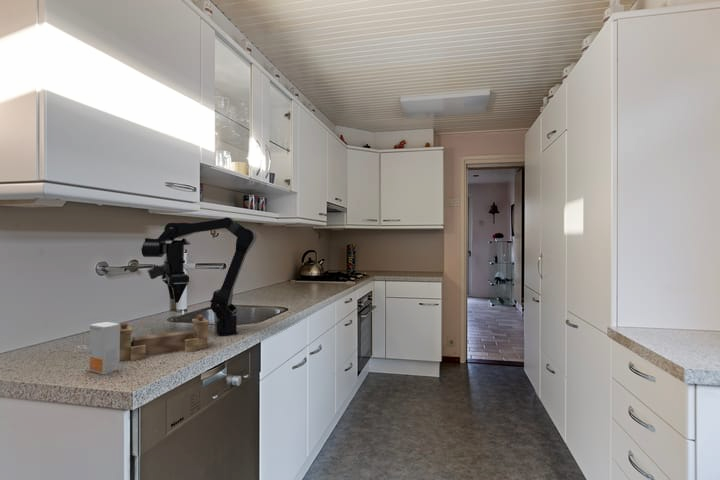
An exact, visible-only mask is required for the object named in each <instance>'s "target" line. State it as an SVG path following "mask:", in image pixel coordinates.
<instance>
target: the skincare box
mask: <svg viewBox="0 0 720 480" xmlns="http://www.w3.org/2000/svg"><path fill="white" fill-rule="evenodd" d="M120 325H121V323H116V322H109V321H103V322H98V323H92V324H90V325H89V346H88V349H89V353H88V354H89V356H88V371H89V372H93V373H97V374H101V375H107V374H110V373H113V372H117V371H120V361H119V357H120Z"/></svg>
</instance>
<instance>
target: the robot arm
mask: <svg viewBox="0 0 720 480" xmlns="http://www.w3.org/2000/svg"><path fill="white" fill-rule="evenodd" d="M163 229H164V231H163V232H162V233H161V234H160V235H159V236H158V238H151V237H150V238H149V237H147V238H146V237H145V238H144V242H143V243H142V247H141V248H140V249H141V254H142V256H143V258H163V257H164V255H165V260H164V261H163V264H161V265H157V264H156V265H155V266H152V267H151V268H149V269H147V273H148V276H149V278H150V279H151V280H153V279H157V278H158V277H160V276H161V279H162V281H163V282H164V284H166V285H167V290H168V294H169V298H170V300H173V301H174V303H179V301H180V299H181V298H182V296H183V294H184V291H185V290H186V287H187V286H188V284H189V283H190V277H189V275H187V274H186V271H185V268H184V267H185V264H186V260H185V258H184V257H185V246H188V245H189V246H190V245H191V243H190V242H189V241H188V240H187V238H186V237H189V236H191V235H194V234H197V233H204V232H212V231H218V230H225V229H226V230H227V231H228V232H229V233H231V235H233V236H235V237H236V242H235V251H234V253H233V257H232V259H231V262H230V265H229V267H228V269H227V272H226V275H225V278H224V281H223V283H222V285H221V287H220V289H217V290H215V291H213V294H212V298H211V300H209V303H210V309H211V311H212V312H213V313H214V314H215V316H216V320H215V321H214V333H215V334H216V335H218V336H220V337H222V336H230V335H231V336H232V335H237V334H238V333H239V331H237V321H238V319H237V315H236V314H237V311H238V308H237V307H236V305H235V304H233V296H234V289H235V286H236V283H237V281H238V278H239V275H240V274H241V273H240V272H241V270H242V267H243V265H244V263H245V259H246V257H247V254H248V253H249V252H250V250H251V249H252V247H253V246H254V245H255V243H256V241H257V239H258V237H257V233H256V231H254V230H252V229H250V228H246V227H244V226H243V225H241V224H240V223H238V222H237V221H235V220H234V219H233V218H231V217H228V216H227V217H223V218H218V219H216V218H215V219H209V220H203V221H195V222H182V221H181V222H178V221H171V222H168V223H167V224H166V225H165V226H164V228H163ZM178 239H181V240H178Z"/></svg>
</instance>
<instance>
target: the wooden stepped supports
mask: <svg viewBox="0 0 720 480" xmlns="http://www.w3.org/2000/svg"><path fill="white" fill-rule="evenodd" d="M191 322H192V326H193V327H192V328H193V329H192V332H194V338H193V339H185V350H184V352H185V353H188V352H189V353H191V352H195V351H199V350H201V349H206V348H208V328H209V327H208V325H209V324H210V321H209V320H207V319H206V318H205V317H204V315H203V314H198V315H197V317H196V318H192V319H191ZM132 333H133V328H132V326H131V325H129V324H128V322H127V321H123V322H121V323H120V357H119V362H120V361H126V360H130V361H135V360H143V359H146V356H145V348H146V346H145V345H140V346H132Z"/></svg>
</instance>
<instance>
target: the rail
mask: <svg viewBox="0 0 720 480" xmlns="http://www.w3.org/2000/svg"><path fill="white" fill-rule="evenodd" d="M193 338H194V332H193V330H191V329H188V330H183V331H182V330H181V331H175V332H166V333H157V334H150V335H141V336H131V340H132V346H140V345H145V346H146V348H145V357H148V356H154V355H155V356H156V355H162V354H169V353H176V352H180V351H181V352H183V351H185V339H193Z"/></svg>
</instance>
